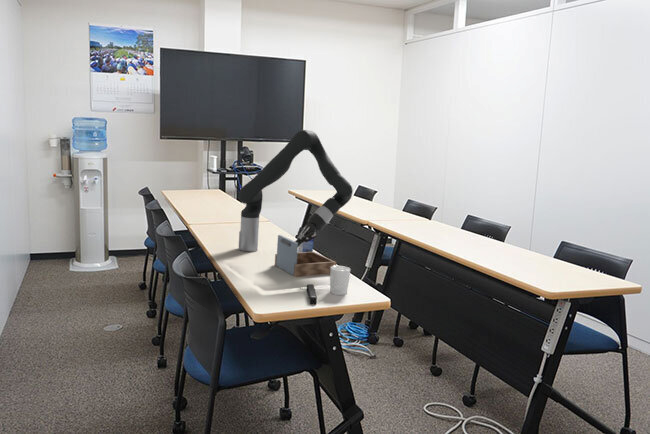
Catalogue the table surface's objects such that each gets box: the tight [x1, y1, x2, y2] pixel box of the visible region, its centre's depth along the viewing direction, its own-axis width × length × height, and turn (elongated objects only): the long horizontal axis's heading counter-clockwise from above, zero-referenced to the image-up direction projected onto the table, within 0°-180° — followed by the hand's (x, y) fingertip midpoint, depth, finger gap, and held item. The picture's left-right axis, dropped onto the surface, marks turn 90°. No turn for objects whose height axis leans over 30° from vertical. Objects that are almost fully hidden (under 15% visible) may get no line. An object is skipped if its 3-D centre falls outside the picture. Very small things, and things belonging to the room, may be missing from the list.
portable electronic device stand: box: [306, 283, 318, 305], centre depth 200 cm, size 18×3×3 cm, turn 6°
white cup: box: [329, 265, 351, 296], centre depth 207 cm, size 8×8×10 cm
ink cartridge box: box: [297, 238, 315, 253], centre depth 256 cm, size 10×6×14 cm, turn 15°
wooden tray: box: [274, 251, 337, 278], centre depth 233 cm, size 20×20×6 cm
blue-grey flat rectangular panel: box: [275, 234, 298, 276], centre depth 227 cm, size 2×17×14 cm, turn 31°
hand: (294, 246), depth 229 cm, fingers closed
